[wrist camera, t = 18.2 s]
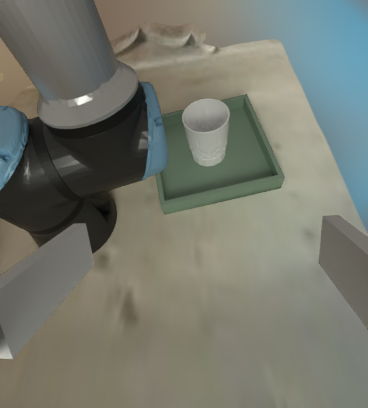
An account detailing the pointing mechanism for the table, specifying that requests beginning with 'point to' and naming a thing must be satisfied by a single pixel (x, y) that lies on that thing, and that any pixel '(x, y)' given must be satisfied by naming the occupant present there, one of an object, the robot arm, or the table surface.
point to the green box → (222, 172)
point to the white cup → (207, 130)
